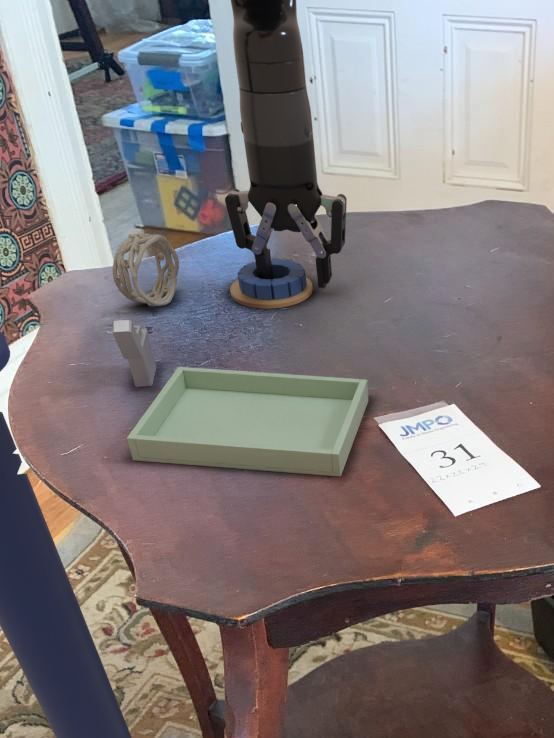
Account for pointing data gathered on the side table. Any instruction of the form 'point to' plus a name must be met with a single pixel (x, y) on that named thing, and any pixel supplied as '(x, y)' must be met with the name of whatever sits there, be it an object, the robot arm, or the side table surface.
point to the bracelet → (132, 246)
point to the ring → (273, 280)
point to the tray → (252, 421)
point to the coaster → (269, 304)
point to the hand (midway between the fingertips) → (295, 283)
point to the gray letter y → (136, 351)
